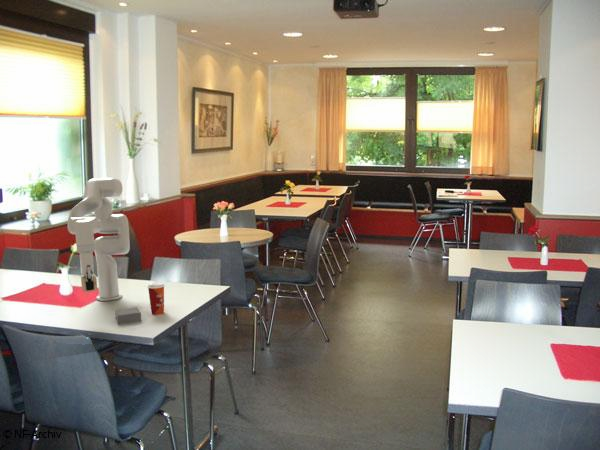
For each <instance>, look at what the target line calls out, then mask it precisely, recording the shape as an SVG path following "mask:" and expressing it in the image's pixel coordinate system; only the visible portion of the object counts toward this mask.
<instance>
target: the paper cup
mask: <svg viewBox="0 0 600 450" xmlns="http://www.w3.org/2000/svg"><path fill="white" fill-rule="evenodd" d="M147 289H148V296H149V304H150V305H149V306H150V311H151V315H154V316H159V315H162V314H163V315H164V313H165V284H164V282H162V281H153V282H149V283H148V284H147Z"/></svg>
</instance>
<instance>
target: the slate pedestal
mask: <svg viewBox="0 0 600 450" xmlns="http://www.w3.org/2000/svg"><path fill="white" fill-rule="evenodd" d="M114 320H115V321H116V323H117V325H123V324H131V322H132V323H137V322H138V321H139V322H142V313H141V311H140V309H139V308H138V306H134V307H132V306H131V307H127V308H120V309H114Z"/></svg>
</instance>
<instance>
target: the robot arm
mask: <svg viewBox="0 0 600 450" xmlns="http://www.w3.org/2000/svg"><path fill="white" fill-rule="evenodd" d="M122 193H123V184H122V182H121V180H120V179H118V178H114V177H102V178H101V177H100V178H98V177H97V178H91V179H89V180H87V182H86V183H85V188H84V192H83V197H82V200H81V201H79V202H78V203H77V204H76V205H75V206H73V208H71V210H70V211H69V214H68V218H67V231H68V233H70V234H71V235H75V243H76V253H78V254H79V264H80V273H81V276H84V275H85V276H86V290H87V291H88V290H94V282H93V277H92V275H93V274H95V270H94V268H95V267H94V256H95V260H96V269H97V270H96V271H97V285H98V295H97V296H96V297H95V298H96V300H97V301H100V302H101V301H102V302H105V301H106V302H108V301H109V302H110V301H115V300H118V299H121V298H122V297H123V293H121V292H120V289H119V280H118V279H119V278H118V268H117V267H118V264H117V261H116V260H115V258H114V257H113V256H116V255H117V256H118V255H127V254H128V253H129V252H130V250H131V249H130V247H131V245H130V244H131V243H130V228H129V227H130V226H129V219H128V217H127V215H125V214H123V213H113V204H112V202H111V201H110V199H108V198H111V197H113V198H118V197H120V196H121V195H122ZM92 213H94V216H86V215H89V214H92ZM97 233H98V234H118V235H105V236H99V237H96V238H95V234H97ZM93 252H94V254H95V255H93Z"/></svg>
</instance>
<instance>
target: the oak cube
mask: <svg viewBox="0 0 600 450" xmlns="http://www.w3.org/2000/svg"><path fill="white" fill-rule="evenodd" d="M92 277H93V282H94V290H88V291H87V290H86V276H85V275H80V279H81V280H80V282H81V290H82V291H81V292H82V293H89V292H97V291H98V278H97V275H96V274H95V273H94V274H92Z"/></svg>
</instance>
